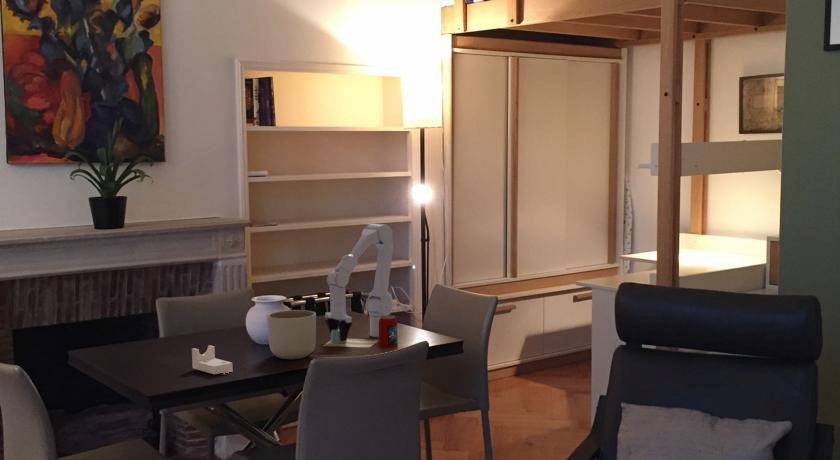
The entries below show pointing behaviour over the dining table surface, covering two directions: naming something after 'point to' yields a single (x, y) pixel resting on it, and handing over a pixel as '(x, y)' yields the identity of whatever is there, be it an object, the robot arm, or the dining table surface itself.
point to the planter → (292, 333)
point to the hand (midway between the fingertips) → (338, 339)
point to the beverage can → (388, 332)
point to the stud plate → (354, 343)
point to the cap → (336, 336)
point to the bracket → (210, 362)
